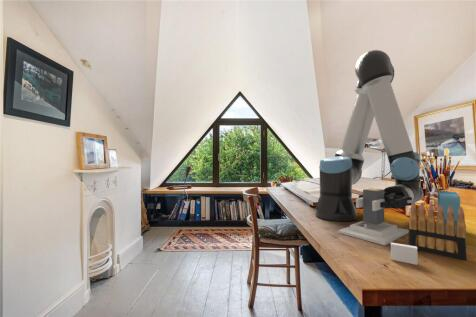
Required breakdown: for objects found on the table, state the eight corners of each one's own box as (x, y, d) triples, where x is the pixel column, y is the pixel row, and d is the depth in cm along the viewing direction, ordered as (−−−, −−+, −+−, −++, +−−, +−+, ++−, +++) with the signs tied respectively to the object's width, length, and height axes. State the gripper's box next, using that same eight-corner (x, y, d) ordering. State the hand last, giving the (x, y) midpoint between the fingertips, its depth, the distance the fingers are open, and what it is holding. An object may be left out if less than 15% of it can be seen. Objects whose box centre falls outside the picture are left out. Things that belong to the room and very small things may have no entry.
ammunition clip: (408, 248, 60) (408, 201, 59) (409, 246, 61) (409, 200, 61) (466, 261, 52) (467, 207, 52) (466, 258, 54) (466, 206, 54)
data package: (460, 238, 66) (460, 196, 66) (439, 235, 69) (439, 195, 69) (455, 228, 76) (455, 191, 76) (437, 226, 79) (437, 190, 78)
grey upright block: (363, 222, 72) (362, 189, 72) (370, 219, 75) (370, 188, 75) (377, 225, 69) (376, 190, 69) (384, 222, 72) (384, 189, 72)
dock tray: (338, 232, 72) (338, 221, 72) (365, 223, 82) (365, 213, 82) (384, 245, 62) (384, 232, 62) (408, 232, 72) (408, 221, 72)
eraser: (417, 265, 51) (417, 248, 51) (390, 260, 53) (390, 244, 53) (417, 262, 52) (416, 246, 52) (390, 258, 54) (390, 242, 54)
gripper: (426, 211, 76) (398, 224, 62) (371, 203, 89) (338, 212, 75) (426, 188, 76) (398, 195, 62) (371, 183, 89) (337, 189, 75)
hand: (365, 204), depth 69 cm, fingers closed on grey upright block, 4 cm apart
